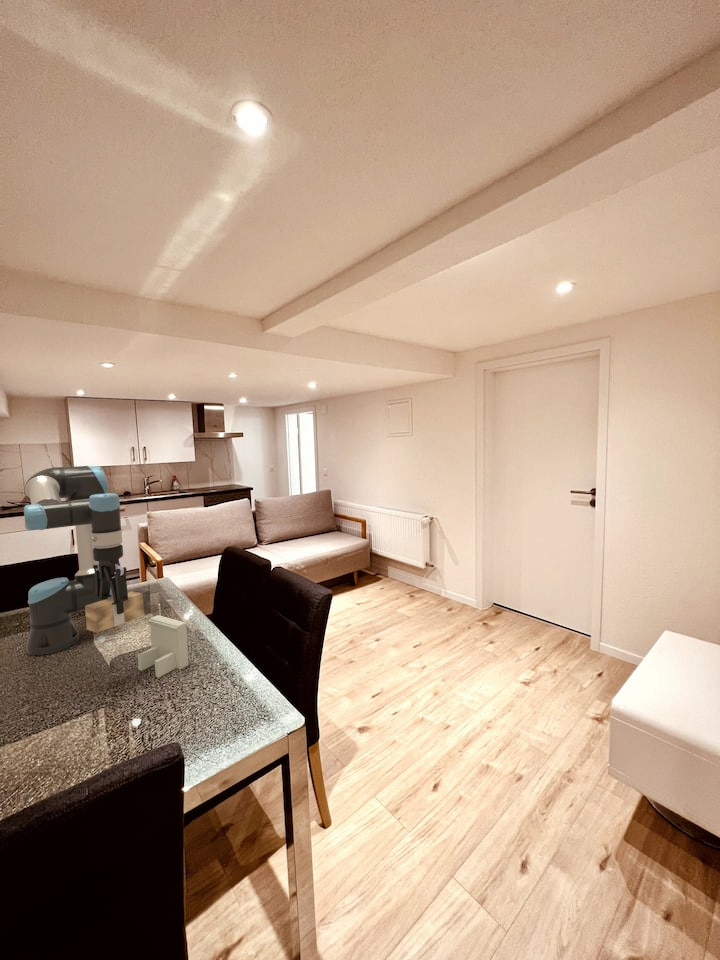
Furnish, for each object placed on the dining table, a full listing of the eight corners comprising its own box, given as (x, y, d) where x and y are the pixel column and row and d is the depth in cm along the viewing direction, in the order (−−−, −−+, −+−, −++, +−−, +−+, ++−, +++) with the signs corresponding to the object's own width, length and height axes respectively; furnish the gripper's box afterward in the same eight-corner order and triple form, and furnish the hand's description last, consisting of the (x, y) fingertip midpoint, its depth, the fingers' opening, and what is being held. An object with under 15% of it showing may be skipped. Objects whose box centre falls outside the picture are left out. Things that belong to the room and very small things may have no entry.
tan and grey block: (97, 632, 114) (95, 607, 113) (86, 629, 117) (84, 604, 116) (151, 613, 128) (149, 590, 127) (140, 610, 130) (138, 588, 130)
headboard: (134, 668, 128) (131, 625, 127) (160, 655, 136) (158, 615, 135) (162, 679, 121) (160, 634, 120) (188, 665, 129) (185, 622, 128)
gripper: (77, 546, 121) (83, 621, 122) (112, 550, 111) (118, 632, 113) (103, 541, 127) (109, 613, 128) (138, 545, 118) (144, 622, 119)
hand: (113, 622), depth 120 cm, fingers closed on tan and grey block, 5 cm apart
